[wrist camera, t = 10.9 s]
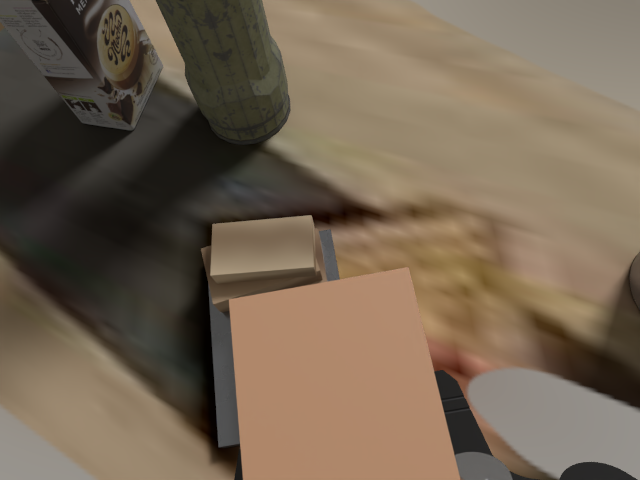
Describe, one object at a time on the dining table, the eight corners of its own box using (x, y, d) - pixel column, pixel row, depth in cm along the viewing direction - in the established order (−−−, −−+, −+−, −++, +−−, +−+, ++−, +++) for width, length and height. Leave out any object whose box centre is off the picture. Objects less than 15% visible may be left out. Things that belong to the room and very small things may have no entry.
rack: (365, 423, 39) (364, 418, 36) (223, 448, 39) (208, 445, 36) (331, 236, 46) (328, 216, 42) (211, 258, 46) (197, 240, 43)
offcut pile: (330, 300, 42) (324, 275, 37) (219, 320, 42) (196, 298, 37) (319, 235, 44) (312, 203, 39) (214, 255, 45) (192, 225, 39)
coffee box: (136, 132, 53) (44, 2, 39) (81, 124, 54) (-28, -5, 40) (166, 64, 57) (93, -78, 42) (113, 58, 58) (25, -82, 43)
